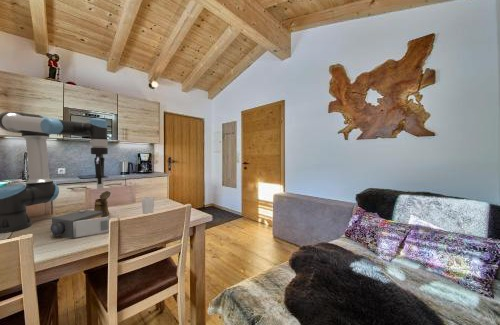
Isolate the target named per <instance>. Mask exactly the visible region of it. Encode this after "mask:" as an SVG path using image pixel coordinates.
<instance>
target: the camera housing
mask: <svg viewBox="0 0 500 325" xmlns="http://www.w3.org/2000/svg"><path fill="white" fill-rule="evenodd" d="M102 217H103V212H101V211H94V209H84V208H83V209H80V210H77V211H72V212H69V213H66V214H61V215H57V216H53V217H51V225H50V232H51V235H52V236H56V237H62V238H66V239H67V238H69V239H74V238H73V222H74V221H81V220H88V219H95V218H102Z"/></svg>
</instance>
